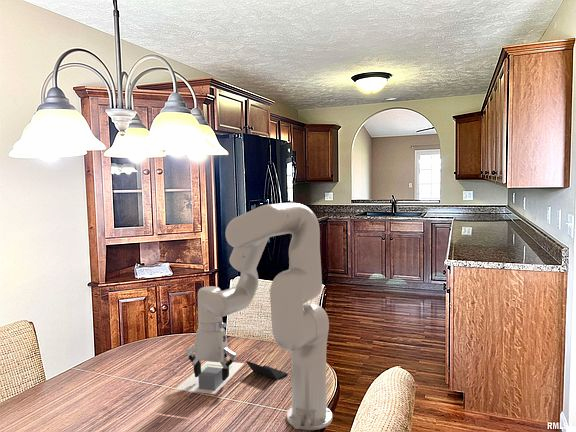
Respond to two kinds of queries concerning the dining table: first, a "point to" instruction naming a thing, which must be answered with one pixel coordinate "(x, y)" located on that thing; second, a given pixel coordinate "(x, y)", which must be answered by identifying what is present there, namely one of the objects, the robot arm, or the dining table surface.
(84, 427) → the dining table surface
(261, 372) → the handheld gaming console
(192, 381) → the mat
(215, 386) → the card box
